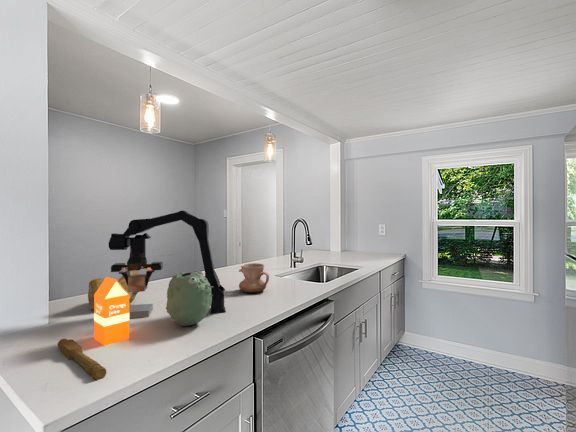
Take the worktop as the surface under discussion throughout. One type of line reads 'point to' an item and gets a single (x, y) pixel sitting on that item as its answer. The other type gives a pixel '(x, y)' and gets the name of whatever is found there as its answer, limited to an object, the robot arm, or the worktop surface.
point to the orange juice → (111, 313)
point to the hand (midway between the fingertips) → (137, 287)
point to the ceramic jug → (253, 278)
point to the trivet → (140, 310)
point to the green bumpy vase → (188, 298)
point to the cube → (137, 283)
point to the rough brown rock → (97, 283)
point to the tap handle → (81, 358)
